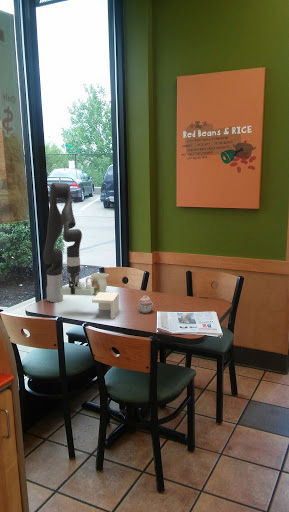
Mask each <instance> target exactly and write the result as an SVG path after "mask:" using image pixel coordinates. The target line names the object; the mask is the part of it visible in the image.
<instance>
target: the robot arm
mask: <svg viewBox="0 0 289 512" xmlns="http://www.w3.org/2000/svg"><path fill="white" fill-rule="evenodd" d="M70 187H71V186H70V185H69V184H68V183H66V182H65V183H64V182H52V183H51V184H50V189H49V211H48V217H47V226H46V227H47V230H46V240H45V245H44V248H43V255H42V256H43V261H44V263H45V264H46V265H51V267H49V268H48V269H47V270H46V277H47V278H46V282H47V286H46V302H49V301H50V303H59V302H62V301H64V295H61V288H62V287H63V274H62V273H63V269H64V268H63V267H64V265H63V263H64V261H63V260H64V256H63V252H62V249H60V248H55V244H56V243H57V241H58V240H59V238H60V236H61V234H62V239H63V241H64V242H66V243H72V242H73V244H72V245H70V246H69V245H68V246H67V247H66V272H67V273H68V274H70V275H69V277H68V278H67V280H68V286H69V288H71V294H75V287H78V283H79V282H80V273H81V257H80V247H81V242H82V238H83V233H82V230H80V229H78V228H77V229H76V228H75V229H74V227H76V220H75V215H74V211H73V204H72V192H71V188H70ZM58 199H59V200H60V199H64V201H65V202H64V205H63V207H62V210H61V212H60V210H59V207H58V203H57V201H58Z"/></svg>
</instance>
